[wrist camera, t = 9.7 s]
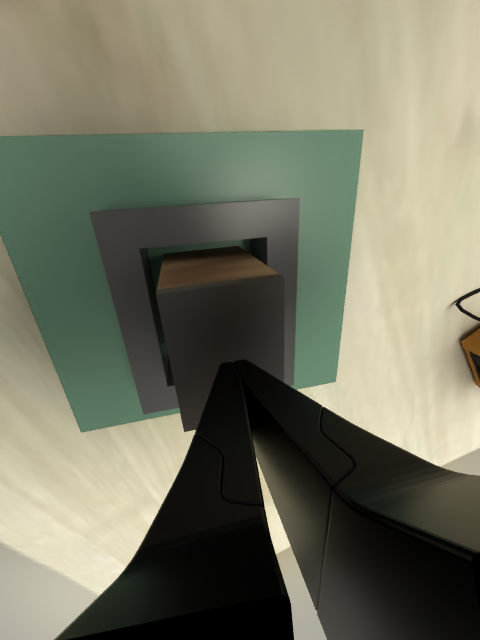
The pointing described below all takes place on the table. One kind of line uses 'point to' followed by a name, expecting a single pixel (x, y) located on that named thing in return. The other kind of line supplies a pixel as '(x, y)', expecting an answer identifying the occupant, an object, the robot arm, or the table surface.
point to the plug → (218, 319)
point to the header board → (172, 247)
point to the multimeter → (472, 342)
